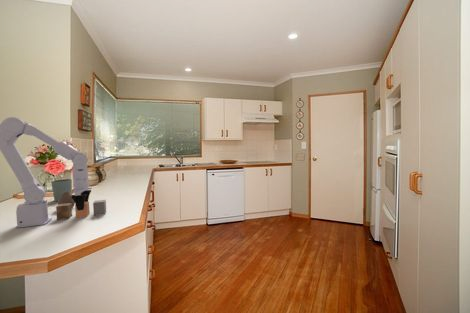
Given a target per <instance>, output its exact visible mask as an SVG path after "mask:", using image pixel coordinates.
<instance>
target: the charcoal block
mask: <svg viewBox="0 0 470 313" xmlns="http://www.w3.org/2000/svg"><path fill="white" fill-rule="evenodd" d="M92 206H93V216H102V215H103V214H104V215H106V213H107V200H106V199H100V200H94V201H93V203H92Z"/></svg>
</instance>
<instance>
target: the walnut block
mask: <svg viewBox="0 0 470 313" xmlns="http://www.w3.org/2000/svg"><path fill="white" fill-rule="evenodd" d="M55 208H56V210H55V211H56V221H60V220H68V219H71V217H73V211H72V210H73V208H72V205H71V203H66V204H59V205H58V204H57V205H56V207H55Z"/></svg>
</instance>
